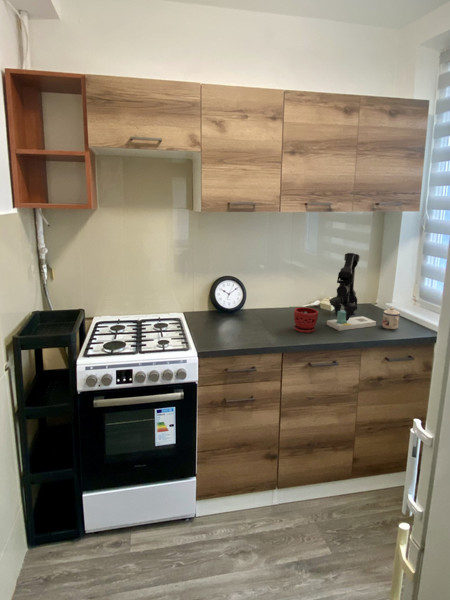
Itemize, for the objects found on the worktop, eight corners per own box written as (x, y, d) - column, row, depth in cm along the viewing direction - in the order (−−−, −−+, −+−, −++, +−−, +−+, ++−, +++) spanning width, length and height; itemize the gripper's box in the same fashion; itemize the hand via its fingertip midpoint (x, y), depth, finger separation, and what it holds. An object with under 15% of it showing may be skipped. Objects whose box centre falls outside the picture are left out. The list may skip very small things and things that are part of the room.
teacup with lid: (378, 325, 249) (380, 306, 246) (393, 324, 250) (395, 305, 247) (389, 331, 237) (391, 311, 234) (404, 330, 238) (406, 311, 236)
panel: (326, 324, 248) (327, 320, 248) (362, 320, 258) (362, 316, 257) (339, 330, 238) (339, 326, 237) (375, 325, 247) (376, 321, 246)
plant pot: (298, 334, 230) (299, 313, 227) (290, 327, 243) (291, 307, 240) (320, 333, 233) (322, 312, 230) (311, 326, 245) (312, 306, 242)
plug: (336, 325, 246) (337, 309, 244) (342, 325, 248) (343, 309, 245) (340, 327, 243) (342, 311, 240) (346, 327, 244) (347, 311, 242)
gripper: (322, 289, 246) (321, 315, 249) (342, 297, 229) (340, 324, 233) (338, 288, 250) (336, 313, 253) (359, 295, 233) (356, 322, 237)
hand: (342, 318), depth 244 cm, fingers open, 9 cm apart
